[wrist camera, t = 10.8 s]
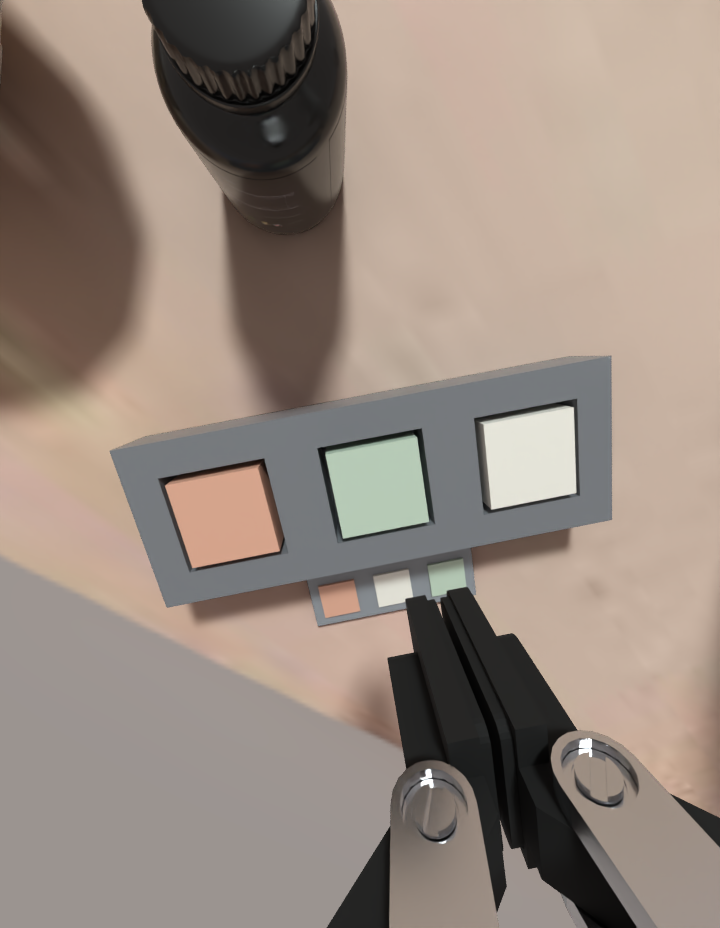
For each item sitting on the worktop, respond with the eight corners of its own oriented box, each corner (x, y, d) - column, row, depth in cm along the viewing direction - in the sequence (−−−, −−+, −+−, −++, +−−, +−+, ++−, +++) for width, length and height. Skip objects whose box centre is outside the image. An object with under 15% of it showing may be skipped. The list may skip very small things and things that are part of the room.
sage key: (407, 428, 25) (416, 437, 22) (418, 503, 26) (429, 521, 23) (326, 443, 25) (325, 454, 22) (341, 518, 26) (343, 538, 23)
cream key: (545, 401, 25) (573, 407, 22) (549, 478, 26) (576, 493, 23) (465, 416, 25) (483, 424, 22) (473, 492, 26) (491, 509, 23)
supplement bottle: (228, 78, 20) (92, -287, 9) (355, 118, 21) (382, -170, 10) (211, 221, 22) (78, 71, 11) (329, 253, 23) (326, 145, 11)
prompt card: (468, 543, 28) (471, 548, 28) (473, 590, 30) (477, 596, 29) (307, 575, 28) (306, 580, 28) (318, 621, 29) (317, 627, 29)
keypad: (569, 356, 25) (611, 355, 22) (573, 497, 28) (612, 519, 24) (143, 436, 25) (109, 450, 21) (189, 572, 28) (166, 607, 24)
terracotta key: (266, 454, 24) (257, 467, 22) (285, 529, 26) (279, 551, 23) (184, 470, 24) (165, 485, 21) (208, 544, 26) (192, 568, 23)
